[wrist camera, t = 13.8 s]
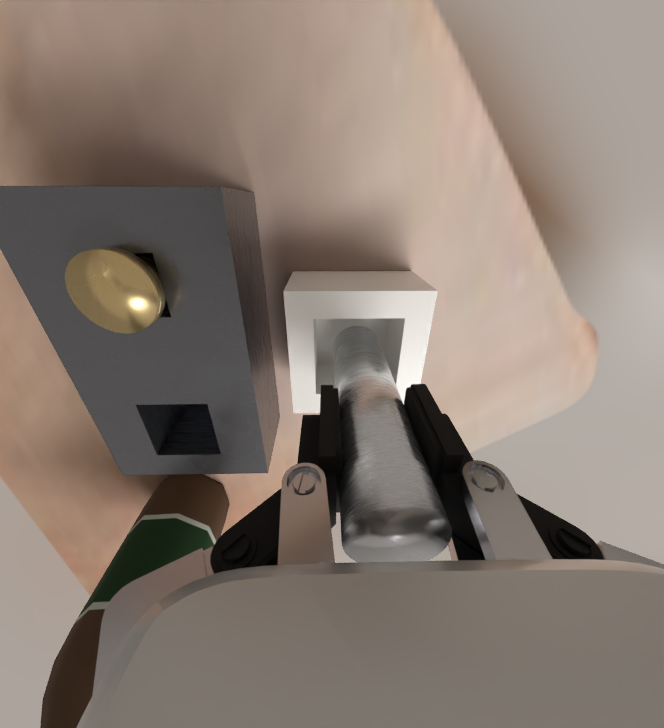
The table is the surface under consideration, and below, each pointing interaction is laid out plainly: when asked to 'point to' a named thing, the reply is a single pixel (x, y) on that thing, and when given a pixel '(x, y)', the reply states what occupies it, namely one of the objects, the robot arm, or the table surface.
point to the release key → (116, 288)
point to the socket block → (158, 321)
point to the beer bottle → (133, 560)
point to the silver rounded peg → (381, 462)
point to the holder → (354, 308)
